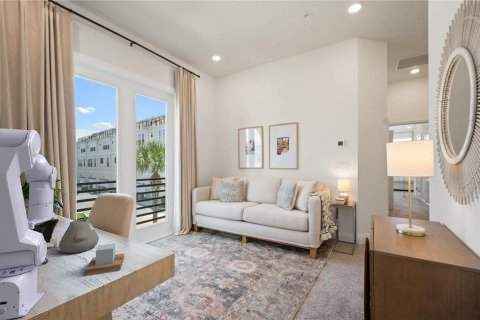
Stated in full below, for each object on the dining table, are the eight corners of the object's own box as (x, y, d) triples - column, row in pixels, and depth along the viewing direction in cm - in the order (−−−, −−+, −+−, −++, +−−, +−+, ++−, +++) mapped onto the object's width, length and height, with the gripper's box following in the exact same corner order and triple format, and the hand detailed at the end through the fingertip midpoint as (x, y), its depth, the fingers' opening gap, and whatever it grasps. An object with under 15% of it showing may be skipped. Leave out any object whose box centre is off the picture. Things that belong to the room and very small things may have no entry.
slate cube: (112, 263, 73) (113, 248, 74) (95, 265, 71) (95, 250, 72) (115, 257, 78) (115, 243, 78) (98, 259, 76) (99, 245, 76)
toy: (101, 249, 91) (102, 213, 91) (60, 258, 81) (61, 218, 82) (94, 240, 101) (95, 208, 102) (57, 248, 92) (58, 212, 93)
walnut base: (120, 272, 72) (120, 264, 72) (84, 277, 69) (84, 269, 69) (124, 260, 82) (124, 253, 82) (92, 264, 78) (92, 257, 78)
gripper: (46, 206, 63) (44, 253, 63) (65, 199, 77) (64, 238, 76) (14, 207, 60) (12, 257, 60) (40, 200, 74) (39, 240, 74)
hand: (39, 246), depth 68 cm, fingers open, 7 cm apart
